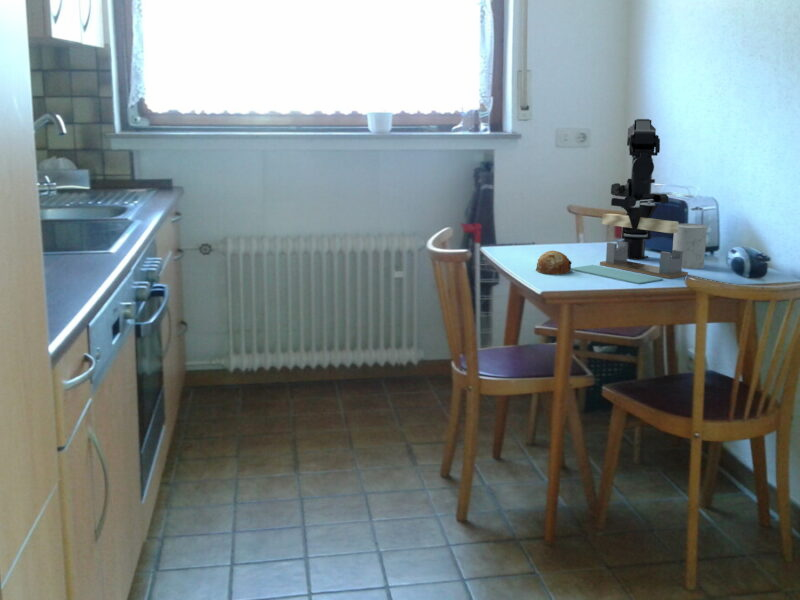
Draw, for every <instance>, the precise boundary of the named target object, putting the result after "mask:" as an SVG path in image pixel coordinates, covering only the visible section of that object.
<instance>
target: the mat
mask: <svg viewBox="0 0 800 600" xmlns="http://www.w3.org/2000/svg"><path fill="white" fill-rule="evenodd" d="M570 271H575V272H580V273H583V274H584V273H585V274H589V275H593V276H598V277H602V278H603V277H604V278H607V279H612V280H617V281H623V282H626V283H632V284H636V285H641V284H642V285H643V284H647V283H653V282H658V281H663V280H664V278H663V277H657V276H652V275H647V274H642V273H637V272H632V271H627V270H622V269H617V268H612V267H607V266H602V265H595V264H590V265H589V264H588V265H582V266H581V265H580V266H576V267H571V270H570Z"/></svg>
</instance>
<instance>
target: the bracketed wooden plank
mask: <svg viewBox="0 0 800 600" xmlns="http://www.w3.org/2000/svg"><path fill="white" fill-rule="evenodd" d="M617 242H618V243H616V242H609V241H608V242H607V243H606V254H605V255H606V256H605V260H604V261H599V266H602V267H607V268H612V269H617V270H622V271H627V272H632V273H637V274H642V275H647V276H652V277H657V278H662V279H668V280H671V279H672V280H673V279H676V278H677V279H678V278H682V277H687V276H686V275H689V272H688V271H683V268H682V258H683V251H679V250H673V249H672V250H671V252H669V251H660V257H659V259H660V260H659V266H656V265H652V264H645V263H641V262H635V261H630V260H629V261H628V258H627V254H628V242H625V240H618V241H617Z"/></svg>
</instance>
